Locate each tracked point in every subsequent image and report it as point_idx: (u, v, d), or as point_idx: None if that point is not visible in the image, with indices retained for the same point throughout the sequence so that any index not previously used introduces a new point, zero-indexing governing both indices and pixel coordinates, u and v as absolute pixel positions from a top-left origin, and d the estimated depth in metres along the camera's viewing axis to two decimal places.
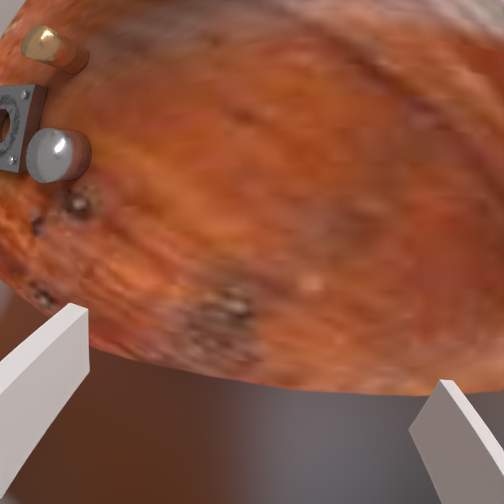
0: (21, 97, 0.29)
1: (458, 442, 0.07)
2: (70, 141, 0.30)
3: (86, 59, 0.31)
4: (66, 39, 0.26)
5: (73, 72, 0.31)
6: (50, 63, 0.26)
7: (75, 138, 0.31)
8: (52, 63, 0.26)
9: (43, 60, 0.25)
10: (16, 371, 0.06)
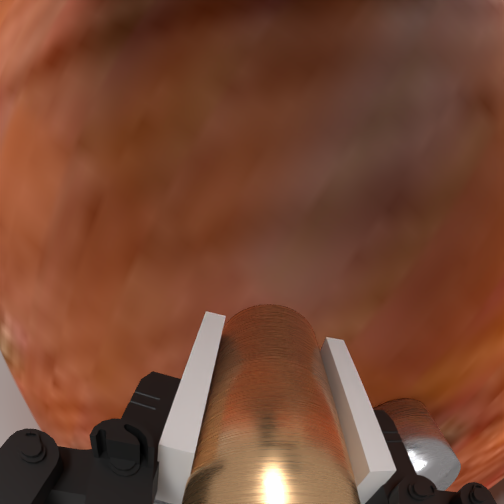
0: None
1: None
2: (440, 442, 0.14)
3: (313, 333, 0.12)
4: (303, 409, 0.07)
5: None
6: None
7: (426, 428, 0.15)
8: None
9: None
10: (205, 379, 0.08)
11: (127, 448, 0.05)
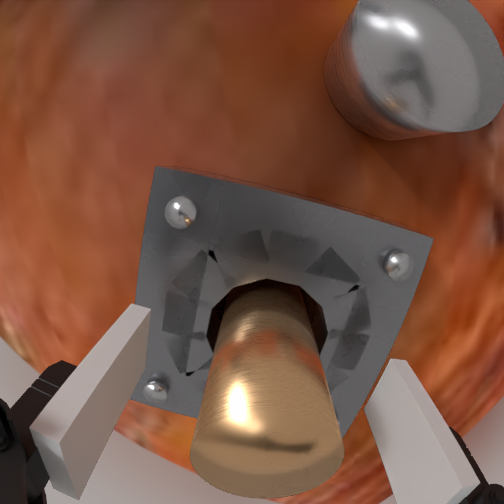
0: (189, 216, 0.12)
1: (405, 421, 0.08)
2: None
3: (300, 292, 0.16)
4: (287, 327, 0.10)
5: None
6: None
7: None
8: None
9: None
10: (100, 371, 0.07)
11: None
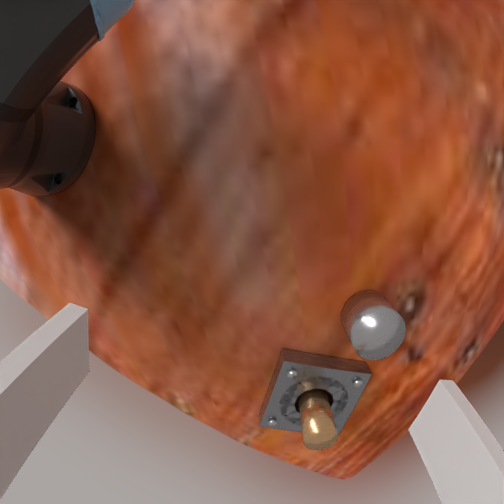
0: (295, 376, 0.37)
1: (458, 442, 0.07)
2: (370, 307, 0.33)
3: None
4: (323, 405, 0.35)
5: None
6: None
7: (362, 304, 0.34)
8: None
9: None
10: (16, 371, 0.06)
11: None
